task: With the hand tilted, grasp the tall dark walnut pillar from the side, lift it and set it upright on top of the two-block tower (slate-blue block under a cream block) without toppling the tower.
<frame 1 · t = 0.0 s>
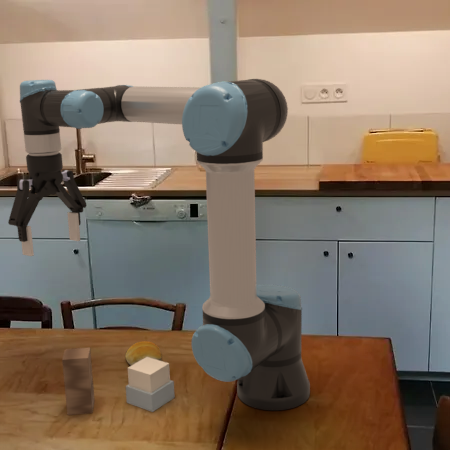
hand: (52, 247, 157), 28 cm above the table, tool pointing down, fingers open, 13 cm apart
tower top: (149, 383, 145), point 4 cm above the table, touching tower base
tower base: (150, 401, 146), on the table, touching tower top
bread roll: (144, 361, 165), on the table
pillar: (81, 407, 143), on the table
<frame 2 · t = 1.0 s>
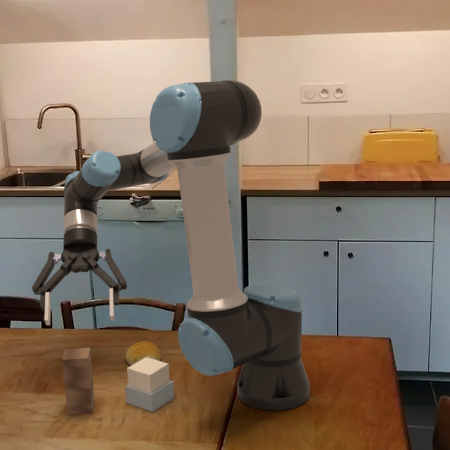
hand: (79, 320, 150), 15 cm above the table, tool tilted 45°, fingers open, 13 cm apart
nothing on the table moved.
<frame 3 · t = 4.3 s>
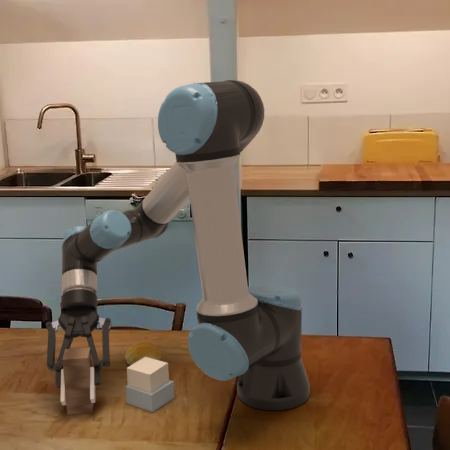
hand: (78, 401, 139), 3 cm above the table, tool tilted 45°, fingers closed on pillar, 5 cm apart
pillar: (81, 407, 143), on the table, touching gripper
everything else where it was.
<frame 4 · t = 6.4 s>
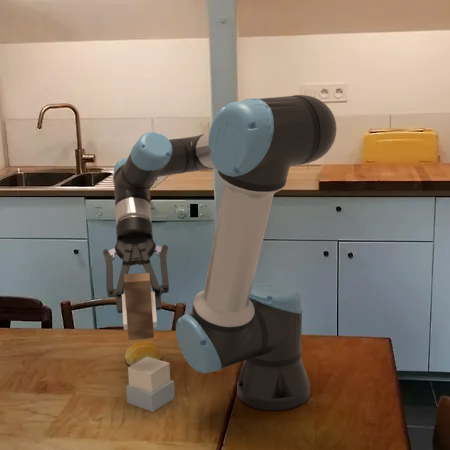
hand: (140, 325, 137), 18 cm above the table, tool tilted 45°, fingers closed on pillar, 5 cm apart
pillar: (141, 334, 142), point 15 cm above the table, touching gripper
everything else where it was.
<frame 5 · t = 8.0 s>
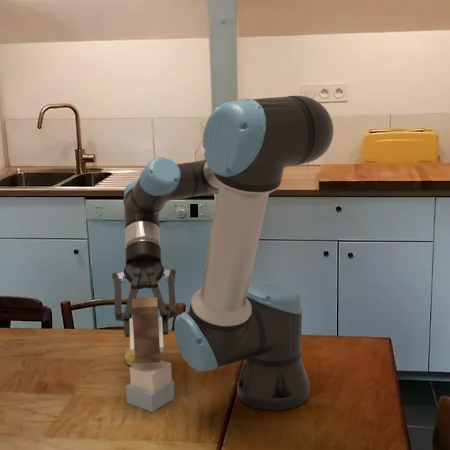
hand: (147, 350, 139), 13 cm above the table, tool tilted 45°, fingers closed on pillar, 5 cm apart
pillar: (148, 357, 143), point 9 cm above the table, touching gripper
everything else where it was.
when the fingers open (13 cm above the table, at t = 8.5 s): pillar drops 2 cm, resting on tower top.
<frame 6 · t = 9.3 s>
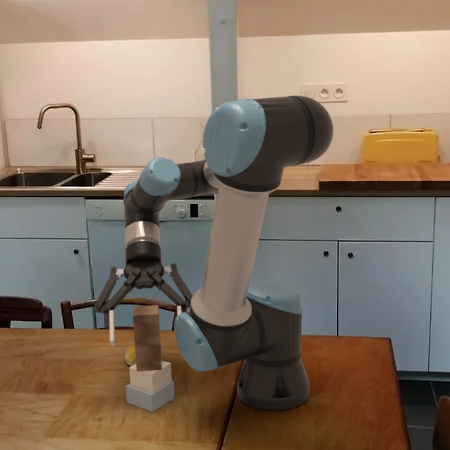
hand: (146, 341, 140), 14 cm above the table, tool tilted 45°, fingers open, 13 cm apart
tower top: (151, 383, 145), point 4 cm above the table, touching pillar, tower base
pillar: (149, 365, 144), point 8 cm above the table, touching tower top
everything else where it was.
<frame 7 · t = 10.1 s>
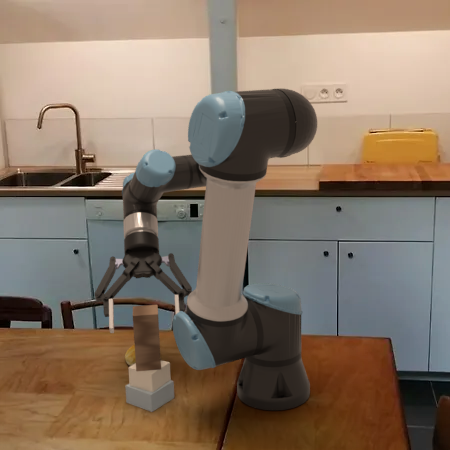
hand: (145, 328, 144), 15 cm above the table, tool tilted 45°, fingers open, 13 cm apart
tower top: (150, 382, 145), point 4 cm above the table, touching pillar
tower base: (150, 401, 146), on the table
everything else where it was.
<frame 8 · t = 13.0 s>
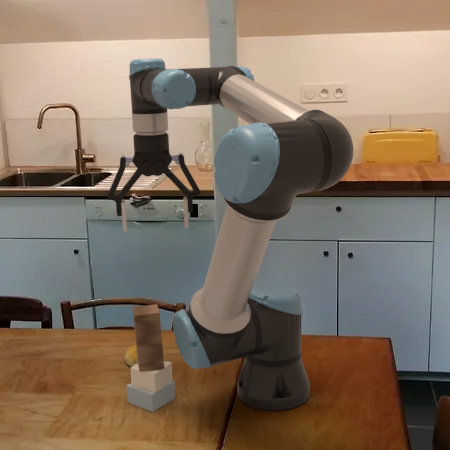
hand: (155, 228, 156), 32 cm above the table, tool pointing down, fingers open, 13 cm apart
tower top: (152, 383, 145), point 4 cm above the table, touching pillar, tower base
tower base: (151, 400, 146), on the table, touching tower top
everything else where it was.
at the end: pillar 0.1 cm off-centre on the tower top, point 4.1 cm above the tower top's base; pillar tilted 3°; tower top moved 0.5 cm from its start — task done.
